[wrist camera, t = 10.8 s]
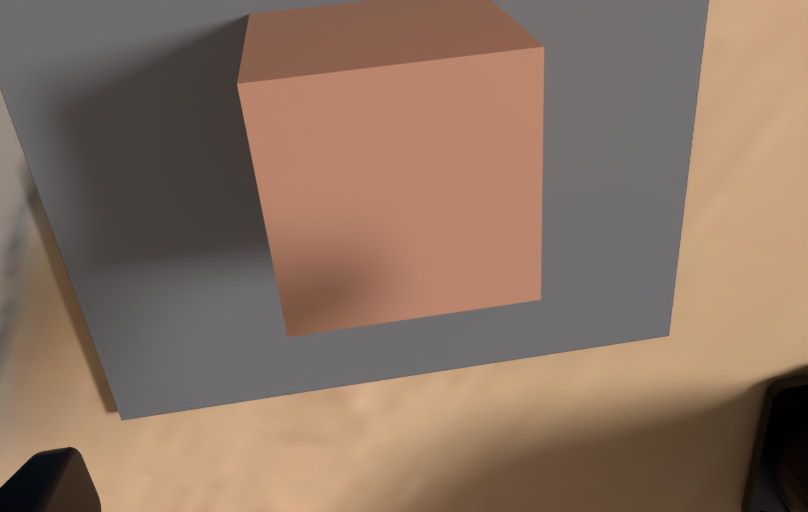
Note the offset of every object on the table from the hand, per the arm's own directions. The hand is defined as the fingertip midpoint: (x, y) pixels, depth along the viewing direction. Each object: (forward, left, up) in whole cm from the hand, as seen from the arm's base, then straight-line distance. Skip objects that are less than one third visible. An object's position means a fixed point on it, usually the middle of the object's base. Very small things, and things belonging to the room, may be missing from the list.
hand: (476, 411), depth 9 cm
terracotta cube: (0, 0, -10) cm, 10 cm away
